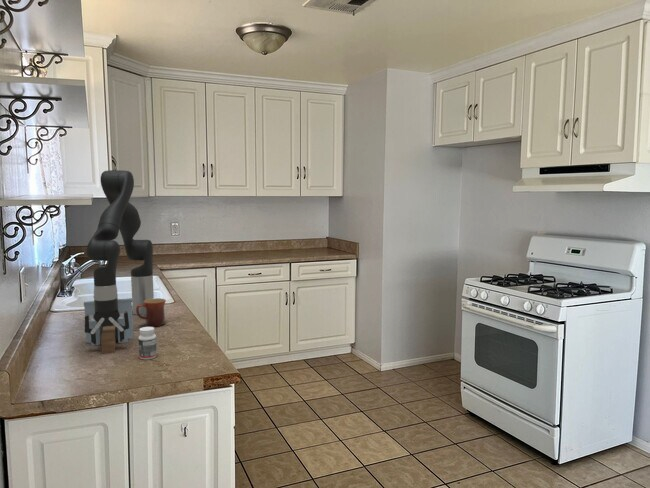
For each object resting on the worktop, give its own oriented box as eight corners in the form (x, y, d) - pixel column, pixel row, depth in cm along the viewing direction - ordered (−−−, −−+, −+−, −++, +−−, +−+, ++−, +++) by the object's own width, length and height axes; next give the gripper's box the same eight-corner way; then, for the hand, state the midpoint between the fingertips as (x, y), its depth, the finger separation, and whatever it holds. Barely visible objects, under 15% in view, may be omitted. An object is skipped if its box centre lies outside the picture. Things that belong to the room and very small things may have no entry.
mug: (161, 320, 212) (160, 297, 210) (169, 325, 205) (169, 301, 204) (133, 325, 204) (132, 301, 203) (140, 330, 197) (139, 305, 196)
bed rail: (104, 341, 183) (103, 325, 183) (116, 340, 185) (115, 324, 184) (101, 354, 170) (100, 336, 170) (114, 352, 172) (113, 335, 171)
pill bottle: (139, 355, 169) (137, 327, 168) (156, 353, 171) (155, 325, 170) (139, 360, 164) (137, 331, 163) (157, 358, 166) (156, 330, 165)
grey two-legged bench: (86, 341, 183) (84, 301, 182) (133, 337, 189) (132, 298, 187) (84, 346, 178) (82, 305, 176) (133, 341, 184) (131, 301, 182)
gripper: (128, 293, 179) (129, 337, 180) (84, 296, 174) (86, 341, 176) (127, 298, 172) (129, 343, 174) (82, 301, 167) (84, 347, 169)
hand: (108, 342), depth 175 cm, fingers open, 8 cm apart
